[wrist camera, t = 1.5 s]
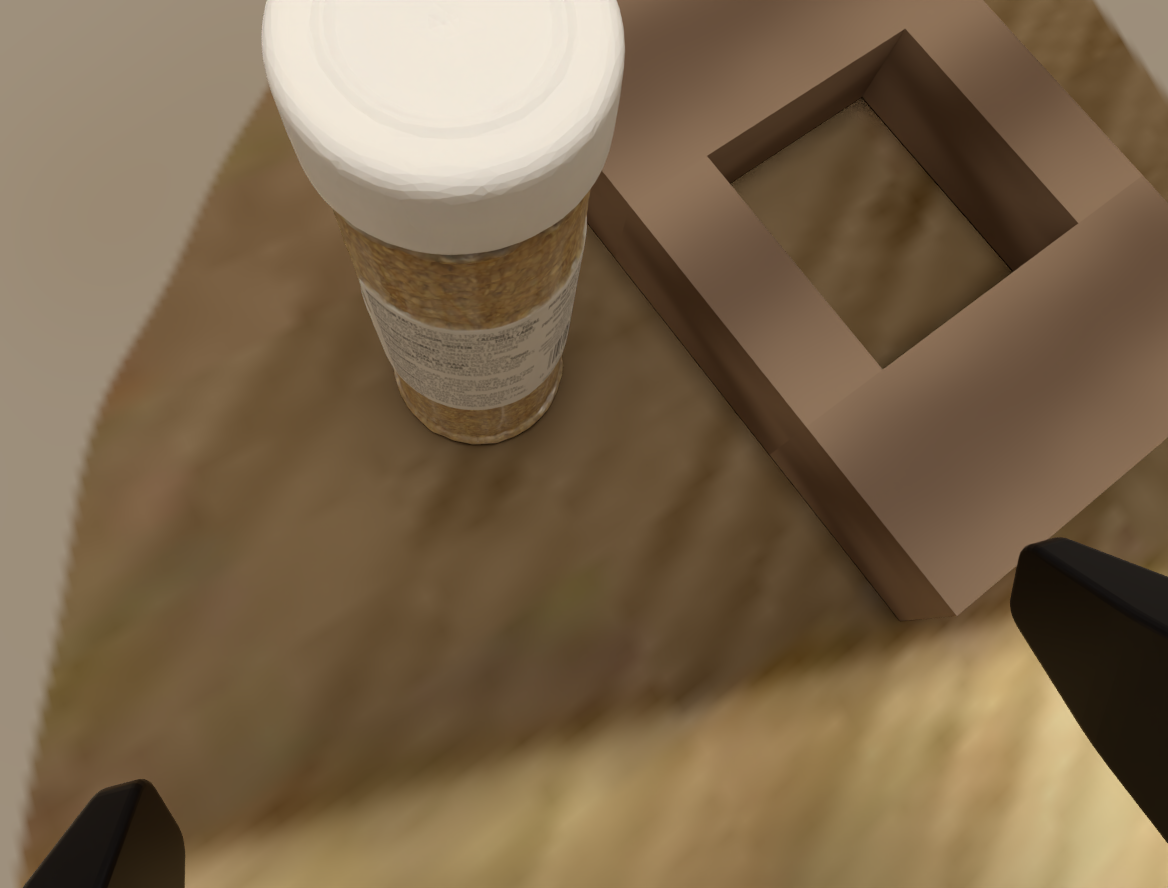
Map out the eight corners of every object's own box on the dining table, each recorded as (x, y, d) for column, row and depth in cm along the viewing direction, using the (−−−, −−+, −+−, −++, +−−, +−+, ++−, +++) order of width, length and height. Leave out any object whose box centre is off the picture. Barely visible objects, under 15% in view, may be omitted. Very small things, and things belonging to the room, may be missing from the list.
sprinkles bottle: (441, 264, 24) (363, -190, 11) (590, 332, 24) (687, -47, 11) (364, 406, 23) (177, 86, 10) (520, 479, 23) (536, 248, 10)
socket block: (1199, 371, 25) (1288, 335, 23) (899, 621, 23) (956, 616, 20) (809, -68, 28) (844, -152, 25) (502, 114, 25) (501, 44, 23)
